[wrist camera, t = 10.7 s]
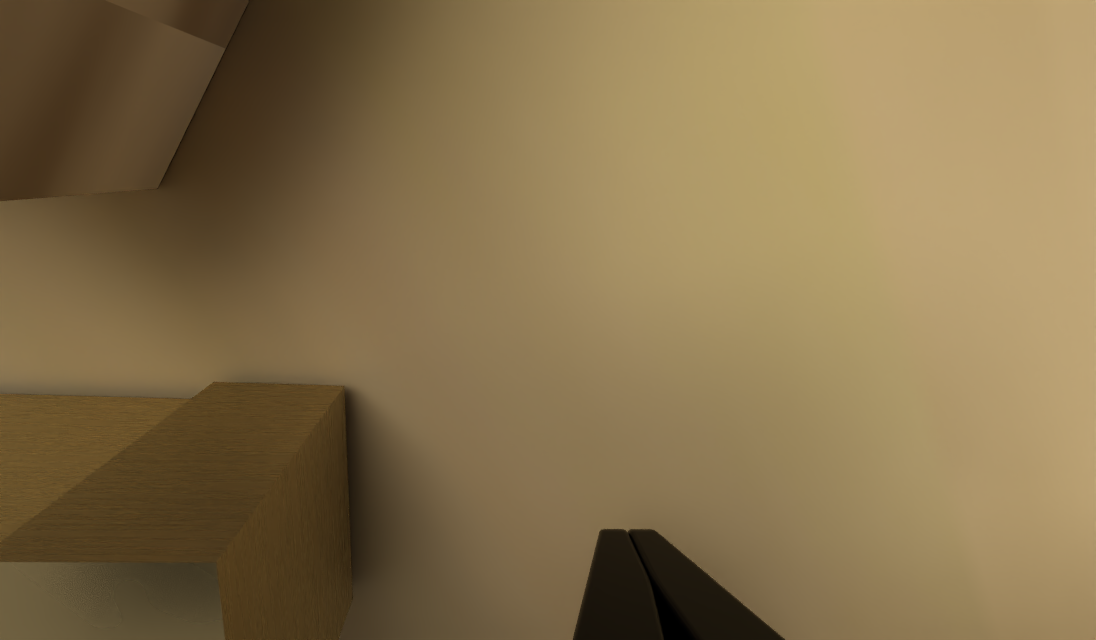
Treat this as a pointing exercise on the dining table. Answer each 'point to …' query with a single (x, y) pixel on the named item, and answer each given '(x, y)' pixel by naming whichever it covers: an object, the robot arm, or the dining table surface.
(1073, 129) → the dining table surface
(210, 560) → the tan rectangular block
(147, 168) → the dock block
